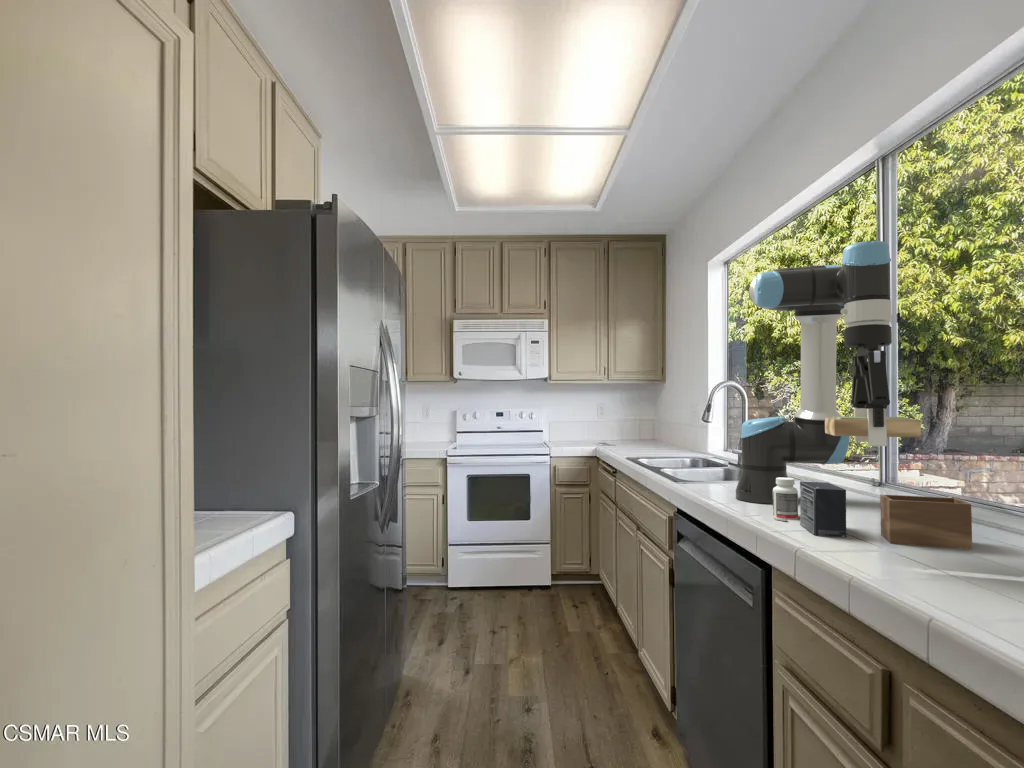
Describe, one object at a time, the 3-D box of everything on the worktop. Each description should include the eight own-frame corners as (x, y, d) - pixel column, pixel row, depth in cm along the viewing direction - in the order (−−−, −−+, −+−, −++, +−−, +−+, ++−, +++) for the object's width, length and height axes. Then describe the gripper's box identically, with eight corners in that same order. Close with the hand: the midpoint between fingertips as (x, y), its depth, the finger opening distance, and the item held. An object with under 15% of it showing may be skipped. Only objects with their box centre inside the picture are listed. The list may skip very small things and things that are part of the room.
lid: (825, 432, 113) (824, 416, 113) (903, 434, 108) (902, 416, 108) (834, 435, 103) (834, 417, 103) (921, 437, 98) (920, 418, 98)
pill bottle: (803, 521, 133) (802, 479, 133) (783, 522, 131) (783, 480, 132) (787, 516, 138) (786, 476, 138) (768, 517, 137) (767, 477, 137)
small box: (849, 541, 115) (848, 489, 115) (814, 539, 116) (813, 488, 116) (830, 529, 125) (830, 481, 125) (799, 527, 126) (798, 480, 127)
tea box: (881, 538, 116) (880, 494, 117) (957, 543, 112) (956, 498, 112) (890, 546, 110) (889, 500, 110) (972, 553, 105) (971, 504, 105)
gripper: (833, 333, 118) (835, 439, 118) (857, 318, 97) (860, 447, 96) (875, 331, 116) (877, 440, 115) (909, 315, 94) (912, 449, 93)
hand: (869, 443), depth 106 cm, fingers closed on lid, 10 cm apart
